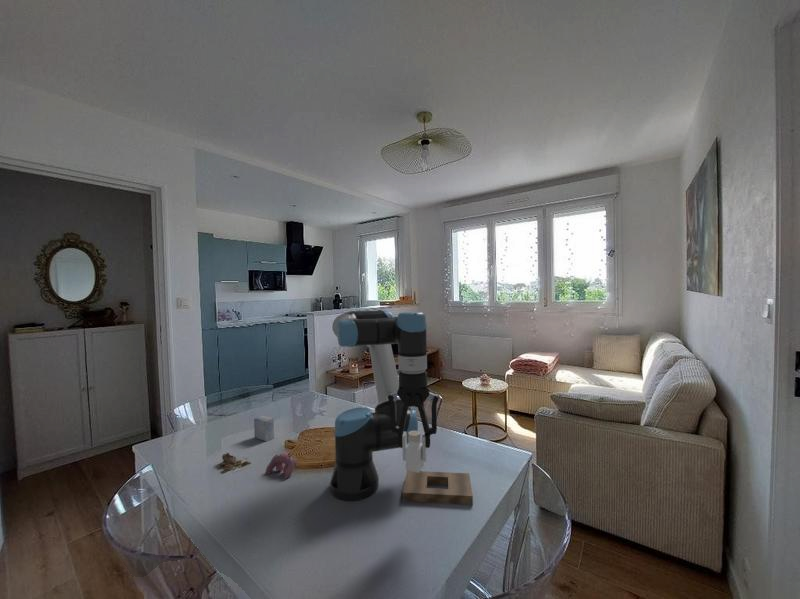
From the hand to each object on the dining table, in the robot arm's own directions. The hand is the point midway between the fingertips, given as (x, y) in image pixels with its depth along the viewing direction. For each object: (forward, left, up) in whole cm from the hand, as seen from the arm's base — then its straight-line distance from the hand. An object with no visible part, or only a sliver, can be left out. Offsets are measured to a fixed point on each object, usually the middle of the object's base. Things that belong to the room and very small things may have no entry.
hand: (414, 458), depth 86 cm
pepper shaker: (0, 0, -3) cm, 3 cm away
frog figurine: (-69, +23, -17) cm, 74 cm away
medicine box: (-70, +46, -17) cm, 85 cm away
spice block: (+5, +14, -16) cm, 22 cm away
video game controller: (-48, +20, -17) cm, 54 cm away
